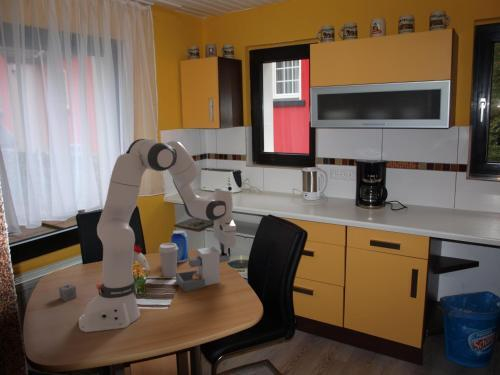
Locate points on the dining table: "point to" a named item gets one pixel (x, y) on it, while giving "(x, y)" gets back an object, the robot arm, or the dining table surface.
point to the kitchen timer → (140, 258)
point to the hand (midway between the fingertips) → (224, 251)
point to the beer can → (180, 244)
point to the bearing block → (209, 265)
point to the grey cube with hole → (67, 292)
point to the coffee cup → (168, 259)
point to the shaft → (198, 261)
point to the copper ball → (195, 277)
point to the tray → (189, 281)
